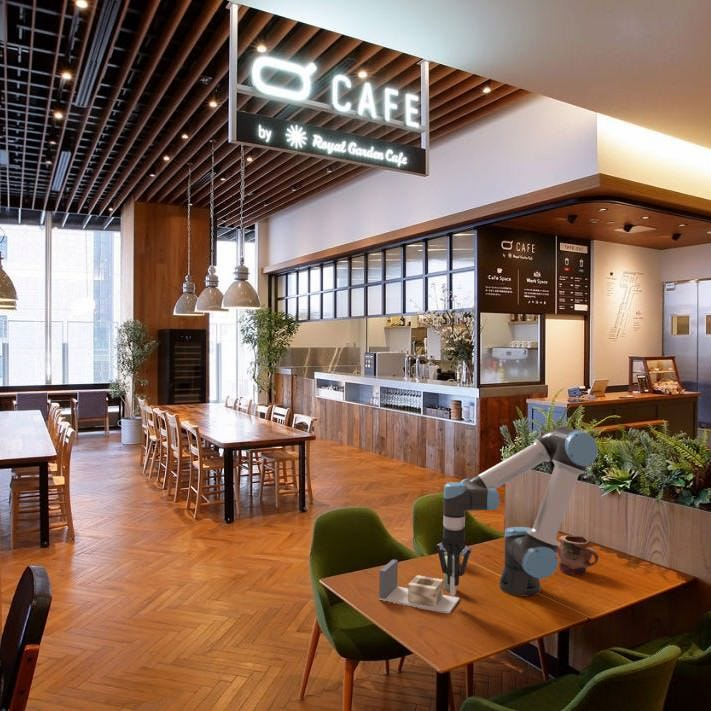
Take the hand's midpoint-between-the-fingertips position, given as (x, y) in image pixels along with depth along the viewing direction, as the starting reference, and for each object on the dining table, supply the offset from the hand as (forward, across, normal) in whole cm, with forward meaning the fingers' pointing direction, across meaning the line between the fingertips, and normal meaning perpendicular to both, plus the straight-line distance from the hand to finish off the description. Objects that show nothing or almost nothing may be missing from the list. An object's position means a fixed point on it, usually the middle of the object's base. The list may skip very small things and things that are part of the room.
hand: (453, 593), depth 216 cm
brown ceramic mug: (+5, -37, -54) cm, 65 cm away
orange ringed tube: (+5, +11, -42) cm, 44 cm away
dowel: (+5, +5, -15) cm, 17 cm away
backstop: (+5, +12, 0) cm, 13 cm away
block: (+5, +10, 0) cm, 11 cm away
